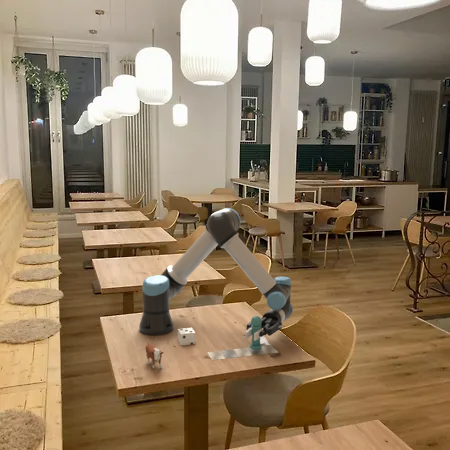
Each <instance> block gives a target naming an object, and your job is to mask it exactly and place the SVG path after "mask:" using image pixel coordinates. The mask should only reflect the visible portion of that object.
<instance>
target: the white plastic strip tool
mask: <svg viewBox="0 0 450 450" xmlns="http://www.w3.org/2000/svg"><path fill="white" fill-rule="evenodd" d="M260 344H262V346H264V345H271V344H270V343H269V341H268V339H267V338H266V336H265V335H264V336H262V337H260Z"/></svg>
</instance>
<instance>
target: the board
mask: <svg viewBox="0 0 450 450" xmlns="http://www.w3.org/2000/svg"><path fill="white" fill-rule="evenodd" d="M206 353H207V355H208V356H209V357H210V360H212V361H218V360H225V359H227V360H228V359H234V358H243V357H251V356H258V355H266V354H267V355H269V357H271V358H272V357H279V356H282V355H281V353H282V352H280V351H279V350H278V349H277V348H276V347H275V345H273V344H270V345H265V344H263V345H262V348H261V349H260V350H253V349H251V348H250V346H249V347H242V348H232V349H224V350H216V351H215V350H214V351H208V352H206Z"/></svg>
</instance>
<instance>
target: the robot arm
mask: <svg viewBox="0 0 450 450" xmlns="http://www.w3.org/2000/svg"><path fill="white" fill-rule="evenodd" d="M241 222H242V221H241V216H240V214H239V213H238V212H237V210H235V209H233V208H230V207H229V208H228V207H225V208H221V209H219V210H218V211H215V212H214V213H212V214H211V215H210V216H209V217H208V220H207V223H206V224H205V225H204V231H203V232H202V234H200V236H199V237H198V238H197V239H196V240H195V241H194V242H193V243H192V244H191V246H190V247H189V248H188V249H187V250H186V251H185V252H184V253H183V254H182V256H181V257H180V258H179V259H178V260H177V261H176V262H175V264H173V265H168V266H167V267H166V269H165V270H164V271H162V273H161V274H159V275H158V274H157V275H152V276H147V277H146V278H145V279H144V280H143V281H142V287H141V288H142V315H141V318H140V323H139V326H138V327H139V331H140V333H142V334H144V335H148V336H162V335H165V334H168V333H171V332H173V330H174V321H173V318H172V316H171V313H170V300H172V299H173V298H174V297H175V296H177V295H179V294H180V293H181V291H182V290H183V288H184V287H185V286H186V285H187V283H188V278H189V277H190V276H191V275H192V274H193V272H194V271H195V270H196V269H197V268H198V267H199V266H200V264H202V262H204V260H205V259H206V258H208V256H209V255H210V254H211V253H212V252H213V251H214V250H215V248H216V247H218V246H219V247H220V248H221V249H224V250H225V251H226V252H227V253H228V254H229V255H230V257H231V258H232V259H233V260H234V261H235V263H236V264H237V265H238V266H239V267H240V269H241V270H242V271H243V273H244V274H245V275H246V276H247V277H248V279H249V280H250V281H251V282H252V283H253V285H255V287H256V289H258V290H259V292H260V293H261V294H262V295H263V297H264V299H266V303H267V306H268V307H269V308H270V309H268V311H266V312H264V314H263V315H262V317H260V318H261V320H262V323H261V328H260V330H258V331H257V332H256V333H254V341H256V340H257V339H259V338H260V337H262V336H264V337H265V336H272V335H273V334H274V333H276V332H278V331H279V330H282V329H283V323H284V322H285V321H286V320H288V319H290V317H291V316H292V315H293V312H294V307H293V304H292V303H291V299H292V297H291V294H292V293H291V292H292V280H291V278H290V277H287V276H276V277H274V278H273V277H272V276H271V274H270V273H269V272H268V270H266V268H265V267H264V266H263V265H262V263H261V262H260V261H259V259H257V258H256V256H255V255H254V254H253V253H252V252H251V250H250V249H249V247H247V246H246V244H245V243H244V242H243V241H242V240H241V238H240V237H239V232H238V230H239V228H240V227H241ZM251 325H252V324H251V320H250V321H249V322H248V323H247V324H246V330H245V332H244V339H245V340H246V339H249V338H250V337H252V327H251Z"/></svg>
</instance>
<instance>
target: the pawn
mask: <svg viewBox="0 0 450 450" xmlns="http://www.w3.org/2000/svg"><path fill="white" fill-rule="evenodd" d="M261 318H262V317H260V316H258V315H253V316H252V318H251V319H250V321H251V324H252V325H251V327H252V335H251V343H249V344H250V345H249V347H250V348H251V349H253V350H260V349H261V348H262V346H263V345H262V344H260V338H259V339H257V340H256V341H254V333H256V332H257V331H258V330H260V328H261V323H262V320H261Z"/></svg>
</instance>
